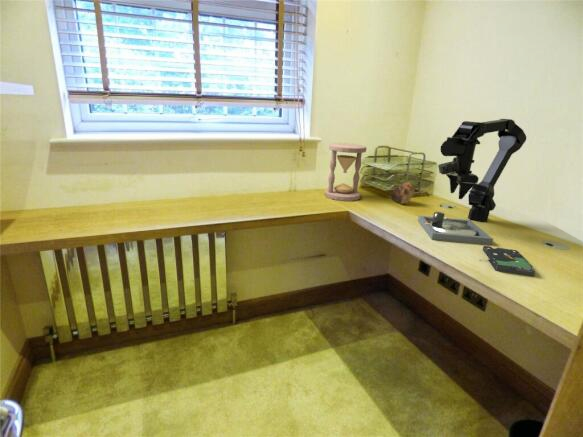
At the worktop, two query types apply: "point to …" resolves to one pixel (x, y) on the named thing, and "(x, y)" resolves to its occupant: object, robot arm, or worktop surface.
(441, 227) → the dial
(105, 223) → the worktop surface
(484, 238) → the dial housing
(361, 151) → the hourglass
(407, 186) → the decorative rock
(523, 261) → the disk drive
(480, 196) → the robot arm
